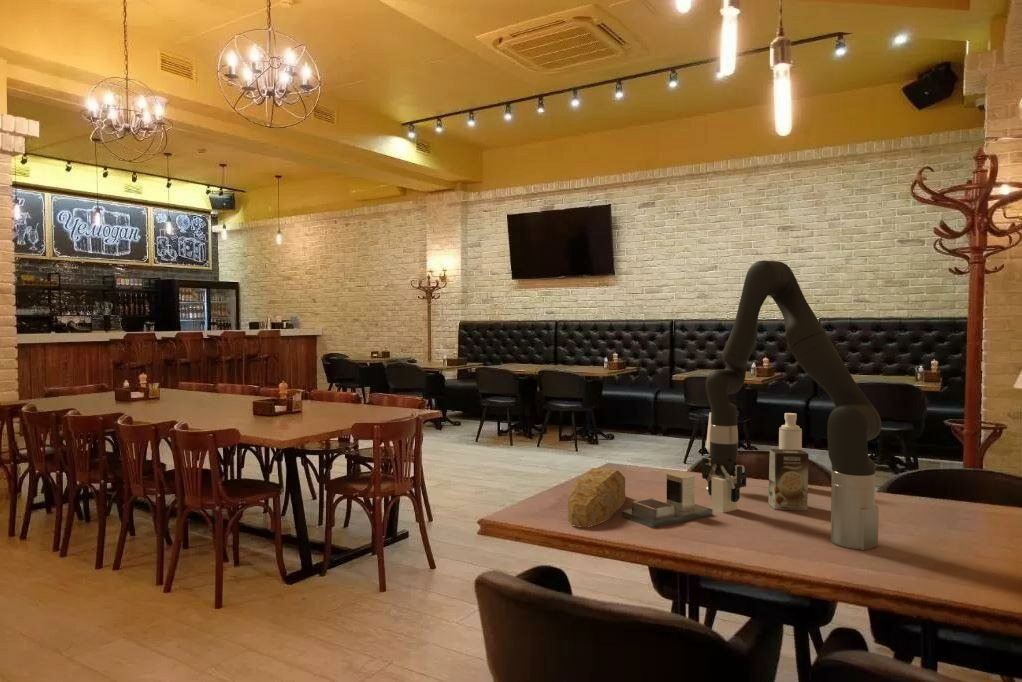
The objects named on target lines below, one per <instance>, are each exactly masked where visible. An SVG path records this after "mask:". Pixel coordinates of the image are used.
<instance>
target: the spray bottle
mask: <svg viewBox="0 0 1022 682" xmlns="http://www.w3.org/2000/svg"><path fill="white" fill-rule="evenodd" d="M797 415H798V414H797V413H795V412H794V413H792V412H785V413H784V420H785V423H784V424H782V425H781V426H780V427H778V430H779V431H778V449H789V450H802V449H803V445H802V444H803V442H802V441H803V437H802V436H803V429H802V428H800V426H799V425H797V419H798V418H797ZM802 451H803V450H802Z"/></svg>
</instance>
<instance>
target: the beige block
mask: <svg viewBox="0 0 1022 682" xmlns="http://www.w3.org/2000/svg"><path fill="white" fill-rule="evenodd" d="M731 477H733V475H732V476H731ZM734 483H735V482H734ZM731 488H732V487H731V485H730V483H729V482H728V481H727V479H726V478H725V477H722V476H718V477H712V481H711V495H710V496H711V497H710V499H711V504H710V505H711V507H710V509H712V511H716V512H719V513H728V512H733V511H736V510H738V501H737V502H732V501H731Z"/></svg>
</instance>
